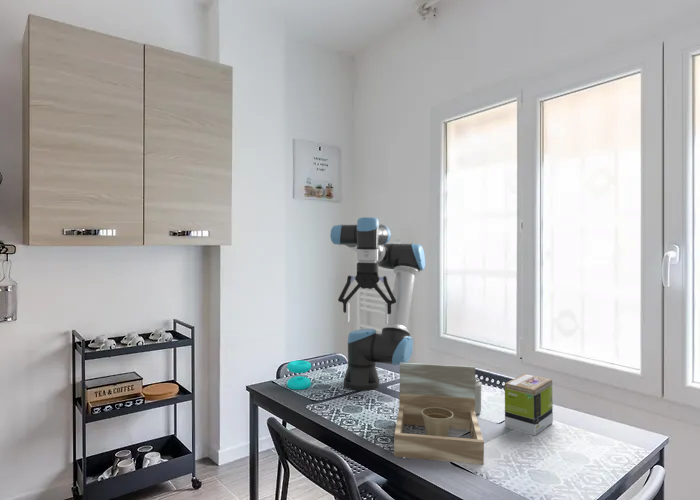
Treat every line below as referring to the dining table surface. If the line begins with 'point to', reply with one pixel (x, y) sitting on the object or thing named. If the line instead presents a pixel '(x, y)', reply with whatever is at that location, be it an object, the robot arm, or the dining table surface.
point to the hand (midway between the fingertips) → (367, 322)
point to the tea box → (528, 404)
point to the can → (477, 396)
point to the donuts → (299, 381)
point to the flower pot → (437, 421)
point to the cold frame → (444, 392)
